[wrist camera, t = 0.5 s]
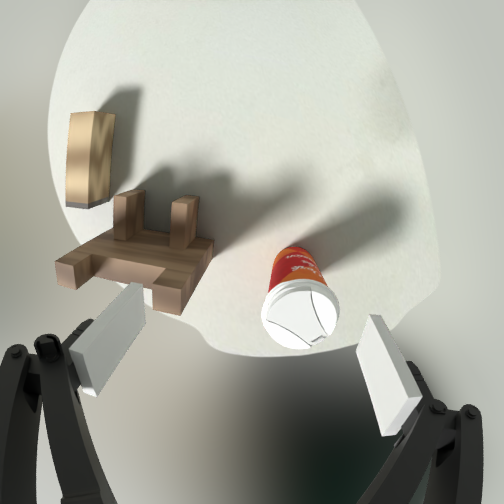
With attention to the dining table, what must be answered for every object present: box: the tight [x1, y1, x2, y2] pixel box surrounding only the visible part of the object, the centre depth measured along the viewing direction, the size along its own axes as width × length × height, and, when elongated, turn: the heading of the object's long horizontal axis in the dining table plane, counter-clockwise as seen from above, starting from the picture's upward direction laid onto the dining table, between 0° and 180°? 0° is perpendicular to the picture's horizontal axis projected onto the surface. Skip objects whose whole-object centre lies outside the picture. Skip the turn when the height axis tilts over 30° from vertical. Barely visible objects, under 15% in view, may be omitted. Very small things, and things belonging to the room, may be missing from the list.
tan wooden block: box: [66, 111, 116, 209], centre depth 36 cm, size 14×4×6 cm, turn 172°
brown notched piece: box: [55, 189, 214, 316], centre depth 34 cm, size 9×16×16 cm, turn 82°
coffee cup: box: [262, 247, 340, 349], centre depth 35 cm, size 8×8×15 cm
